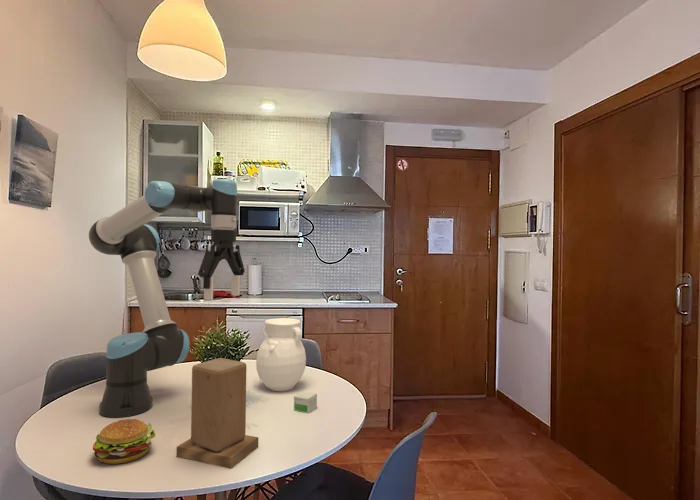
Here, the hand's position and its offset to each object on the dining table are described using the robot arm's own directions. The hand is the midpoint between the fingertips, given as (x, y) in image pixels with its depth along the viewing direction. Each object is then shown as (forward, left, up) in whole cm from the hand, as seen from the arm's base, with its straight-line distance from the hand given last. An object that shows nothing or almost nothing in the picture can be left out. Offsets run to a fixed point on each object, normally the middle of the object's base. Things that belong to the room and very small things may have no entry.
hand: (222, 297), depth 136 cm
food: (-6, -30, -37) cm, 48 cm away
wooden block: (+15, -21, -34) cm, 43 cm away
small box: (+23, +14, -37) cm, 45 cm away
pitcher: (+5, +31, -37) cm, 48 cm away
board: (+15, -21, -37) cm, 45 cm away
